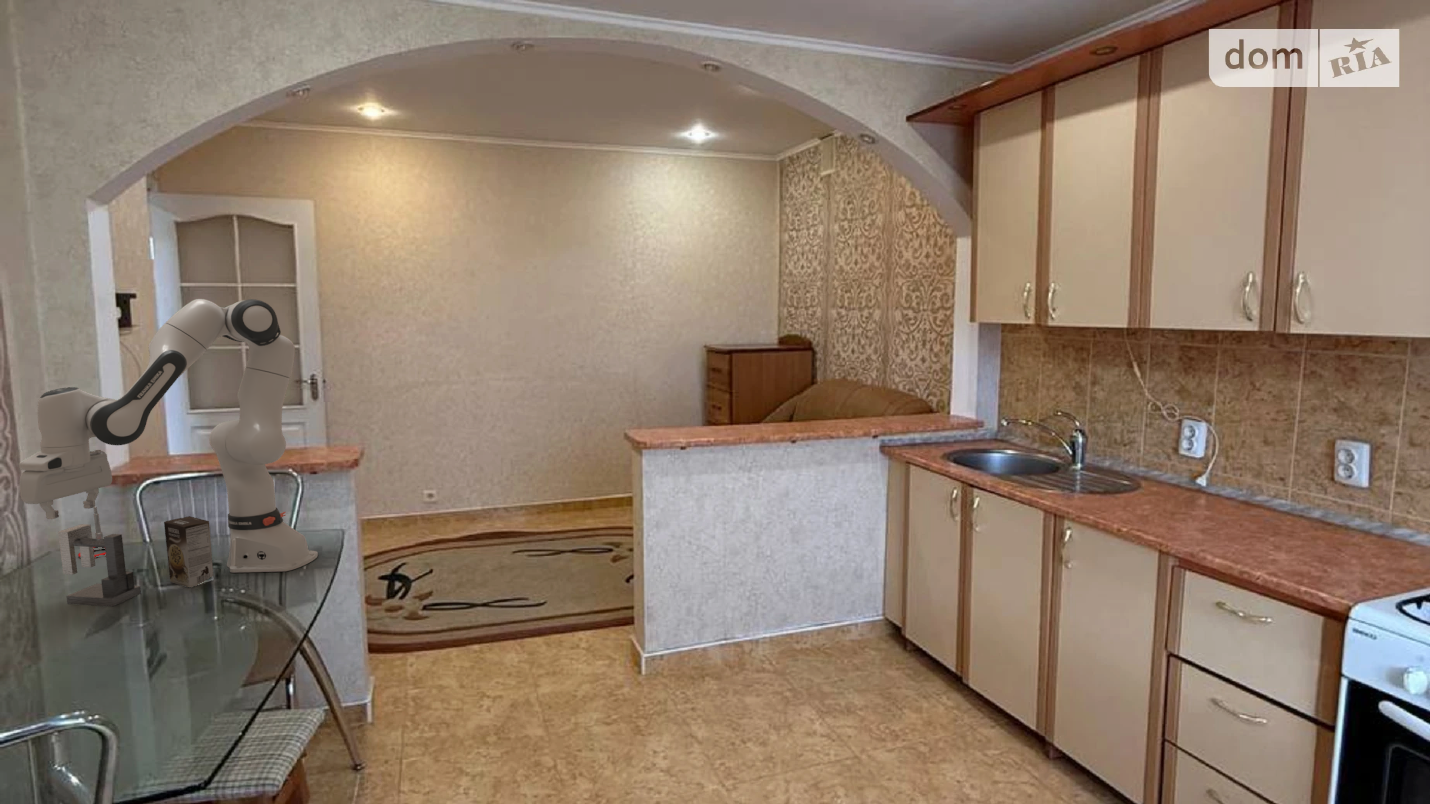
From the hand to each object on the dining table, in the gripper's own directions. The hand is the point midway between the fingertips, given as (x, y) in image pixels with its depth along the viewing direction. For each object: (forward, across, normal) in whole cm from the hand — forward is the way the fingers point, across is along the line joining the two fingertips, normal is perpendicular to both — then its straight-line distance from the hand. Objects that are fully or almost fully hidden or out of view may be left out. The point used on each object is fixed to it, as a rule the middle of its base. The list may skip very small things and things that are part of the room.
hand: (71, 513), depth 185 cm
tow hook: (+21, -30, -25) cm, 44 cm away
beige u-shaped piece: (+14, 0, 0) cm, 14 cm away
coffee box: (+21, -14, +18) cm, 31 cm away
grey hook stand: (+21, -1, +5) cm, 22 cm away
